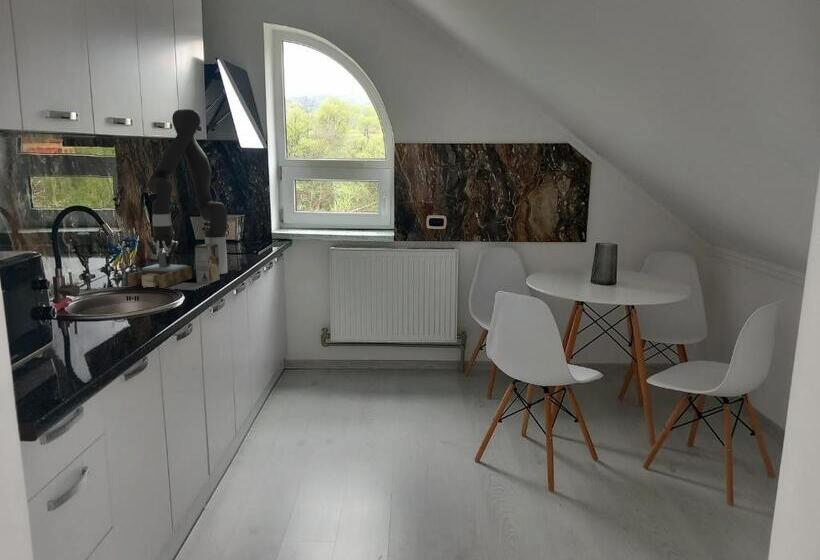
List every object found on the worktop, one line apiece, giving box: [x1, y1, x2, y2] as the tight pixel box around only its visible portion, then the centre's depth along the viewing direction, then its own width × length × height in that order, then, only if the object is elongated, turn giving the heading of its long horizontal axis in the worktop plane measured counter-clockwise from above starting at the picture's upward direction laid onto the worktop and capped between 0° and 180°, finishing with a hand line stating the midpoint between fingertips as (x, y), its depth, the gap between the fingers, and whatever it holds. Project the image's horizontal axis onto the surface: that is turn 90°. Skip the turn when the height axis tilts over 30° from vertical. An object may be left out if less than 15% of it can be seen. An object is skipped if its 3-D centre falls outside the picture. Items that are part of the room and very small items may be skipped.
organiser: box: [127, 265, 193, 289], centre depth 272 cm, size 24×15×6 cm, turn 170°
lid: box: [141, 251, 189, 272], centre depth 274 cm, size 11×15×7 cm
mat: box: [168, 282, 210, 291], centre depth 264 cm, size 12×12×1 cm
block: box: [141, 274, 159, 288], centre depth 265 cm, size 5×5×5 cm
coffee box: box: [194, 243, 221, 284], centre depth 275 cm, size 9×6×16 cm
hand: (164, 264), depth 274 cm, fingers closed on lid, 3 cm apart
